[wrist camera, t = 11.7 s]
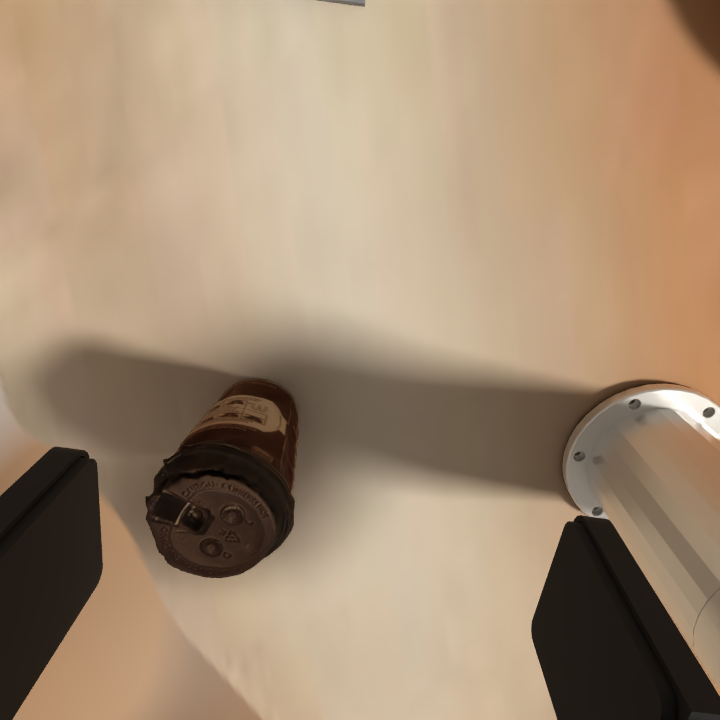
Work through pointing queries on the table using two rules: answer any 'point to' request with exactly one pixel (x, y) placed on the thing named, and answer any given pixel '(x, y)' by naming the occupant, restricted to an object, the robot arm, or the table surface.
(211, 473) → the coffee cup
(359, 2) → the felt pad
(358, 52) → the table surface
